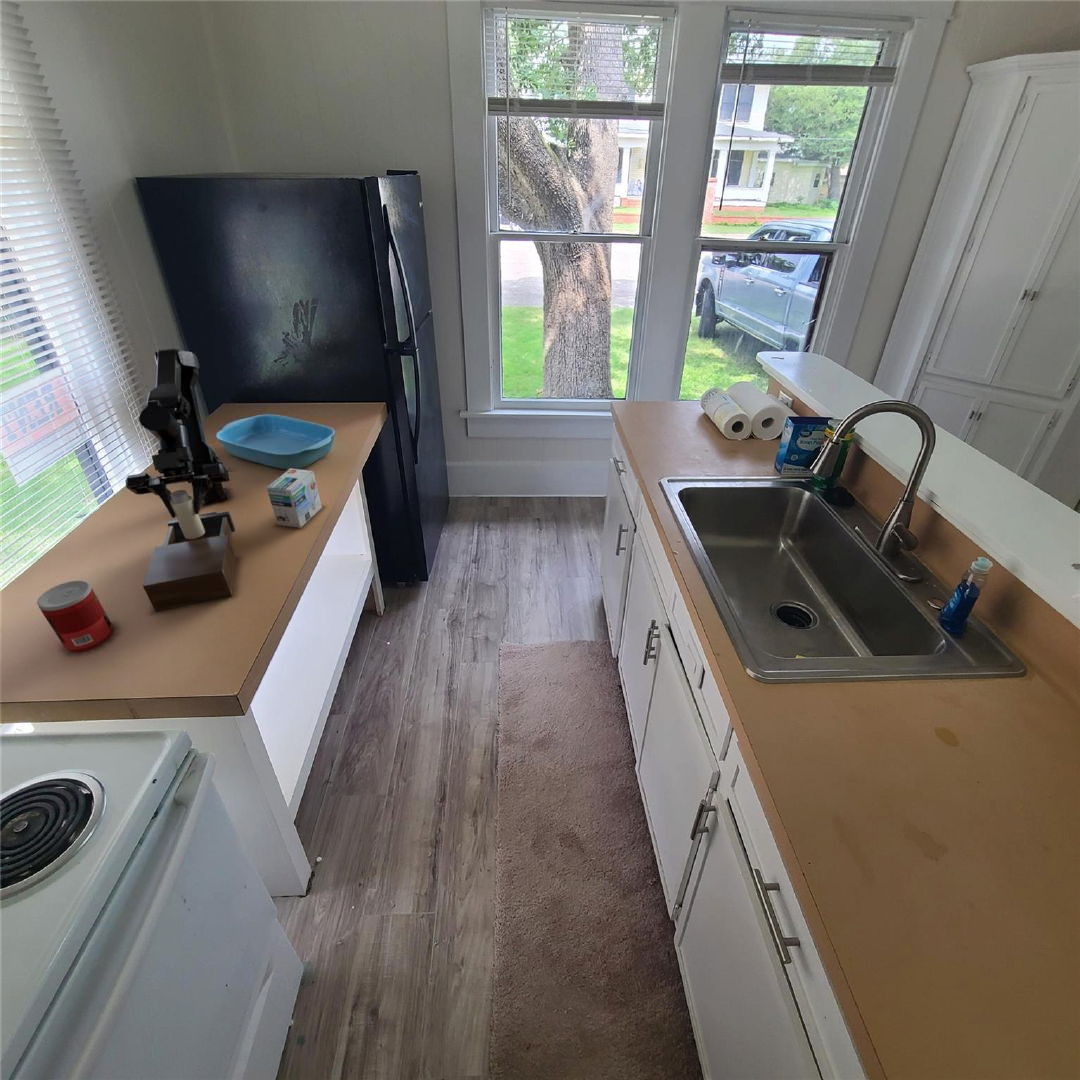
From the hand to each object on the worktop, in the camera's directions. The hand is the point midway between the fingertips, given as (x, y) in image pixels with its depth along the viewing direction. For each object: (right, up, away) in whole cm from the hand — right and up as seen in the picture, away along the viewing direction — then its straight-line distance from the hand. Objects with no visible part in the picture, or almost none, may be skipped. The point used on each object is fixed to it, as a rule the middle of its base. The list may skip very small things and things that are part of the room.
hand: (185, 515), depth 125 cm
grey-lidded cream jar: (0, -4, +4) cm, 6 cm away
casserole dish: (-3, +21, +52) cm, 57 cm away
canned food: (-9, -24, -15) cm, 30 cm away
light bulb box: (+16, +1, +22) cm, 27 cm away
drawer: (-2, -6, +10) cm, 12 cm away
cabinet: (+3, -15, -1) cm, 15 cm away
